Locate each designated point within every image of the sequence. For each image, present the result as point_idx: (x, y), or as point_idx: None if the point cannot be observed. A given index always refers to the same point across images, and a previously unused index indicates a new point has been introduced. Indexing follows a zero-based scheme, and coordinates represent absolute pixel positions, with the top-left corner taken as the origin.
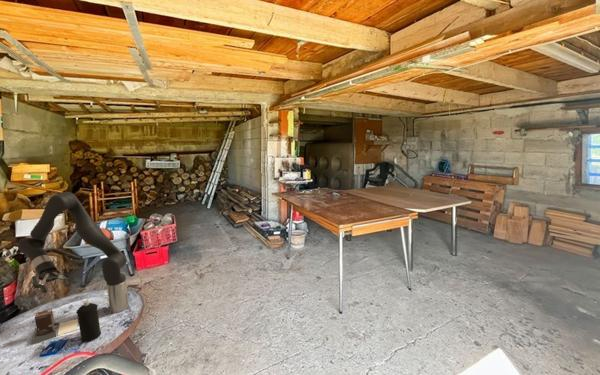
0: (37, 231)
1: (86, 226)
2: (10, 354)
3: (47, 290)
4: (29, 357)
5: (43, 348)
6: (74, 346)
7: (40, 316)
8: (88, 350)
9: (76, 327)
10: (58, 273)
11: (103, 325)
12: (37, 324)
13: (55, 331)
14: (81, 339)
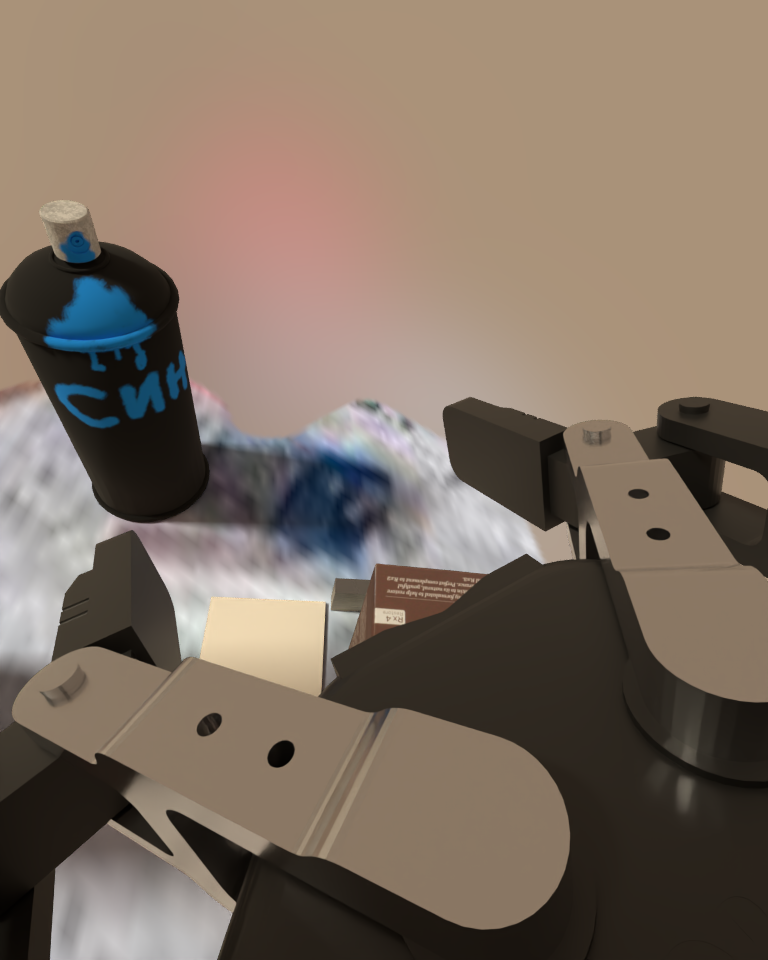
0: None
1: None
2: None
3: (445, 411)
4: (434, 496)
5: (385, 527)
6: (244, 449)
7: (448, 570)
8: (192, 386)
9: (210, 626)
10: (232, 819)
11: (51, 539)
12: None
13: (335, 581)
14: (205, 466)
